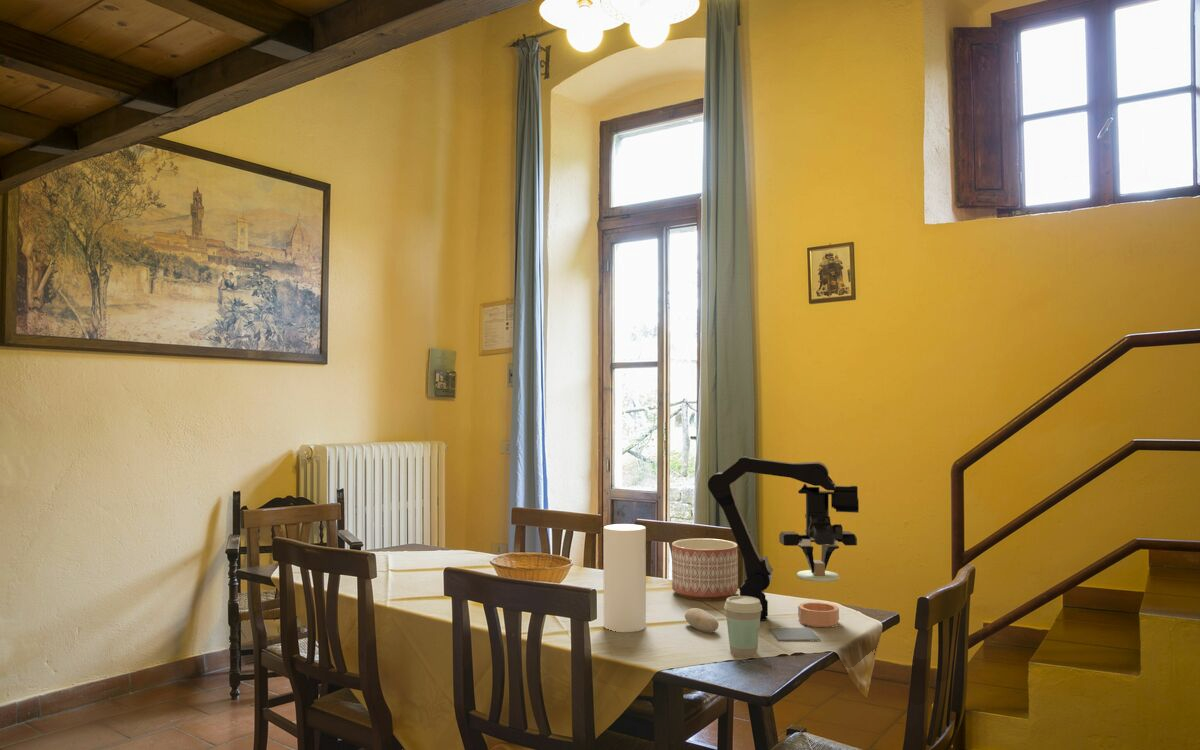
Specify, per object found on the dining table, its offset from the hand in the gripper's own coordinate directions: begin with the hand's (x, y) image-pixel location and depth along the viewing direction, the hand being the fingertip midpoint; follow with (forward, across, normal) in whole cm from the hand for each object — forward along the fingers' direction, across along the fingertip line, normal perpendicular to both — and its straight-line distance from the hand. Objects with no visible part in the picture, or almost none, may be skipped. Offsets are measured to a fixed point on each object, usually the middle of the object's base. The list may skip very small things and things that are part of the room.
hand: (817, 572), depth 209 cm
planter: (+13, -25, +31) cm, 42 cm away
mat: (+13, -9, -11) cm, 19 cm away
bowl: (+13, 0, 0) cm, 13 cm away
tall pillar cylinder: (+13, -50, -3) cm, 52 cm away
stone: (+13, -31, -6) cm, 34 cm away
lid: (+1, 0, 0) cm, 1 cm away
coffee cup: (+13, -24, -25) cm, 37 cm away
